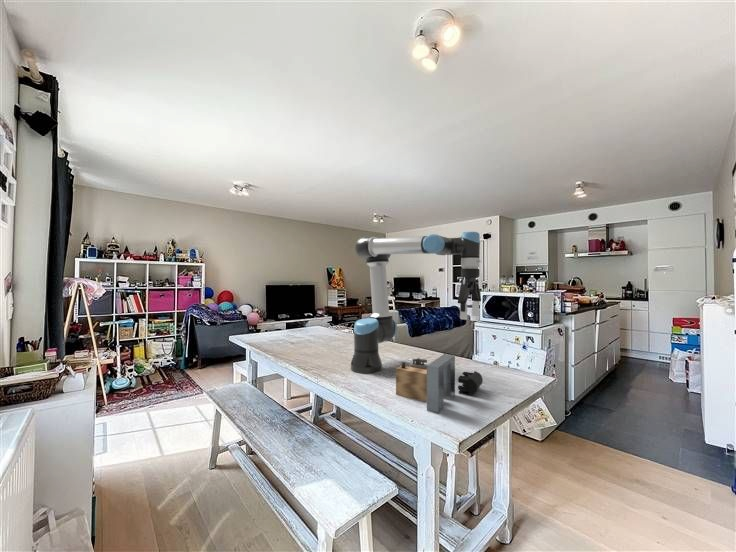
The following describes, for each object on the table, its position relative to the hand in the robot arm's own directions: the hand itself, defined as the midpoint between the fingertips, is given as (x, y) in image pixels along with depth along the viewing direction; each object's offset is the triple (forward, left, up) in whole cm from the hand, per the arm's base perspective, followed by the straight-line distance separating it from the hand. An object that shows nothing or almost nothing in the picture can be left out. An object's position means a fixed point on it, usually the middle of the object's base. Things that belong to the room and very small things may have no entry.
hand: (469, 317), depth 133 cm
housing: (-2, -29, -27) cm, 40 cm away
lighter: (-17, -14, -27) cm, 35 cm away
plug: (-13, -29, -27) cm, 42 cm away
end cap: (+4, -13, -27) cm, 30 cm away
